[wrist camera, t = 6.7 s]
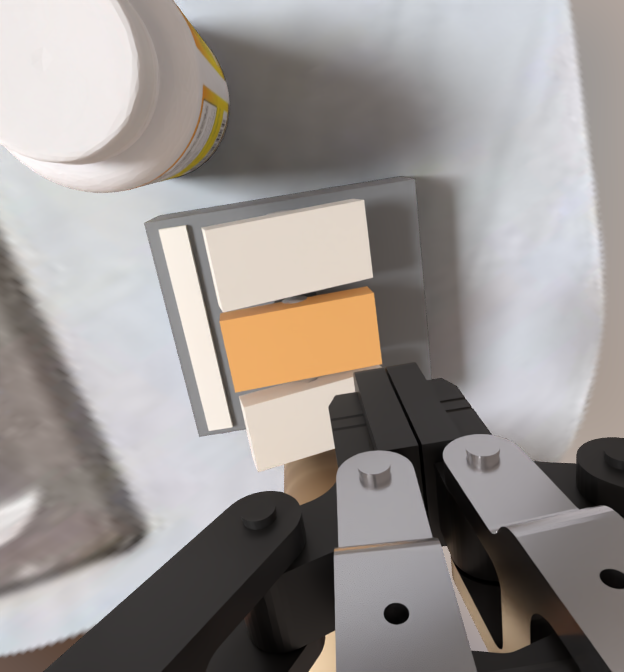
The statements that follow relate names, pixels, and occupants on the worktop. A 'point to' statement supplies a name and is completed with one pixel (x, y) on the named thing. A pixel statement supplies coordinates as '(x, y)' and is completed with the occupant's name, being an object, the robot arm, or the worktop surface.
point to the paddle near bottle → (288, 253)
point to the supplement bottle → (108, 92)
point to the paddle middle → (301, 338)
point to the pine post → (306, 485)
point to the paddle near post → (293, 418)
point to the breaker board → (204, 312)
